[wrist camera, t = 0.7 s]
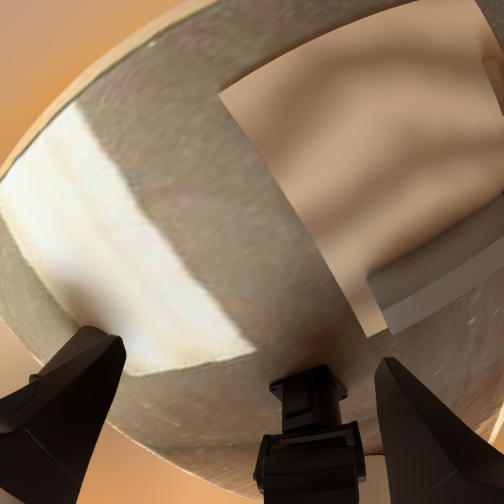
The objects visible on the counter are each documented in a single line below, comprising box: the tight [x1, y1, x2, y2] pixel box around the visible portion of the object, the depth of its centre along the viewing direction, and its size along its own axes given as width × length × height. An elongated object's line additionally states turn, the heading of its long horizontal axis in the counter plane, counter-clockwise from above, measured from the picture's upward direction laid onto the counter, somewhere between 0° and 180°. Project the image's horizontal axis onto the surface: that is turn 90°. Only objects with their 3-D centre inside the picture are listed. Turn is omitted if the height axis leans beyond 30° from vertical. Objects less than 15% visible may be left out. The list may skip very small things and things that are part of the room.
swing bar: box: [365, 191, 504, 336], centre depth 16 cm, size 17×4×4 cm, turn 123°
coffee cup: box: [29, 326, 108, 384], centre depth 23 cm, size 8×8×10 cm
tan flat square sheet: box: [218, 0, 504, 338], centre depth 17 cm, size 22×22×1 cm
